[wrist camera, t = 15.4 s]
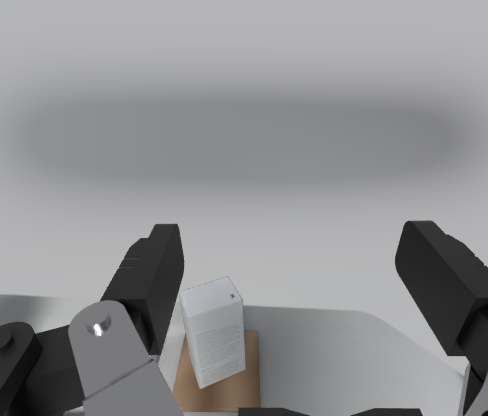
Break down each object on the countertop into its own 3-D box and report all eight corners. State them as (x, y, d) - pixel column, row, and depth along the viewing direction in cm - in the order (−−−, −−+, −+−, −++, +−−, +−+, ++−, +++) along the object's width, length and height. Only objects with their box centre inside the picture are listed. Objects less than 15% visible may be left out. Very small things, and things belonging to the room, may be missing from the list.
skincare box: (233, 343, 41) (229, 274, 35) (246, 370, 37) (244, 299, 32) (189, 360, 39) (177, 290, 33) (198, 391, 35) (187, 319, 30)
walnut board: (257, 335, 43) (257, 331, 42) (259, 412, 34) (259, 407, 34) (186, 335, 43) (186, 331, 43) (170, 411, 34) (169, 406, 34)
